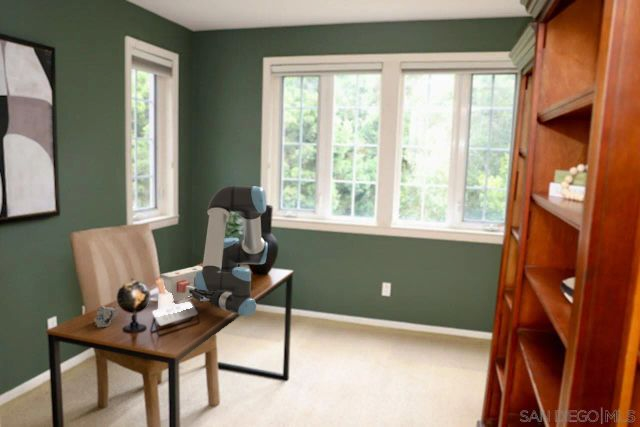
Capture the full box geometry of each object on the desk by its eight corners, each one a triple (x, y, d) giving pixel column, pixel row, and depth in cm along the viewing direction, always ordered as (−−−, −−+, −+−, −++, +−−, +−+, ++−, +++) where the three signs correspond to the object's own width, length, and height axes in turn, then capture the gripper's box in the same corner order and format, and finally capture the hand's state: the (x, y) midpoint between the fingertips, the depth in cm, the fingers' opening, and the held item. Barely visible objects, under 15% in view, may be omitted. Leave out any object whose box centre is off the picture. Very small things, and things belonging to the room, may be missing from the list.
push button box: (210, 285, 236) (210, 262, 234) (219, 288, 232) (220, 264, 230) (160, 299, 211) (160, 273, 210) (170, 303, 207) (170, 276, 206)
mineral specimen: (99, 335, 182) (123, 330, 181) (86, 328, 176) (111, 322, 175) (102, 312, 188) (125, 307, 187) (90, 304, 182) (114, 299, 181)
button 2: (181, 288, 215) (181, 280, 214) (189, 291, 211) (189, 282, 211) (174, 290, 211) (174, 282, 211) (182, 293, 208) (182, 284, 208)
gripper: (212, 312, 191) (175, 300, 204) (235, 304, 202) (198, 293, 215) (212, 295, 190) (175, 283, 203) (235, 288, 200) (198, 277, 214)
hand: (187, 288), depth 209 cm, fingers closed
